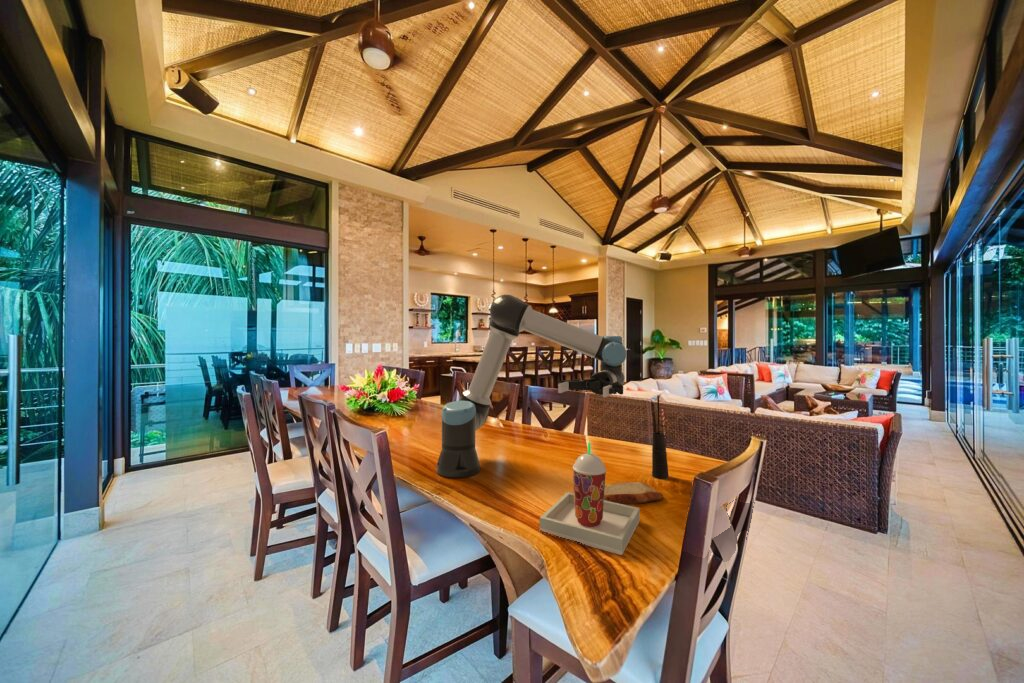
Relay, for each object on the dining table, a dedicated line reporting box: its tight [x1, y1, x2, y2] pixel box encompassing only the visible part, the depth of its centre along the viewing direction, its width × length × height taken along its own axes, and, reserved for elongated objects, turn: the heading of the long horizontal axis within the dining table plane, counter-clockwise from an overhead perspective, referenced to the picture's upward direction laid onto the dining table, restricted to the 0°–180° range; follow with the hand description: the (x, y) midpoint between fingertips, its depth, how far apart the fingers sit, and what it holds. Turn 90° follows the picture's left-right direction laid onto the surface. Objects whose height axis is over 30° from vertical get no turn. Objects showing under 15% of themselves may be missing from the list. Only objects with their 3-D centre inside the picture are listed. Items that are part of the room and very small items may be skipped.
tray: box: [539, 492, 641, 556], centre depth 100 cm, size 20×18×4 cm
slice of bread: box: [604, 481, 663, 505], centre depth 118 cm, size 18×18×4 cm
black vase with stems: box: [651, 394, 669, 480], centre depth 136 cm, size 9×10×28 cm
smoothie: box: [572, 442, 607, 527], centre depth 100 cm, size 8×8×20 cm
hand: (581, 390), depth 115 cm, fingers open, 13 cm apart
